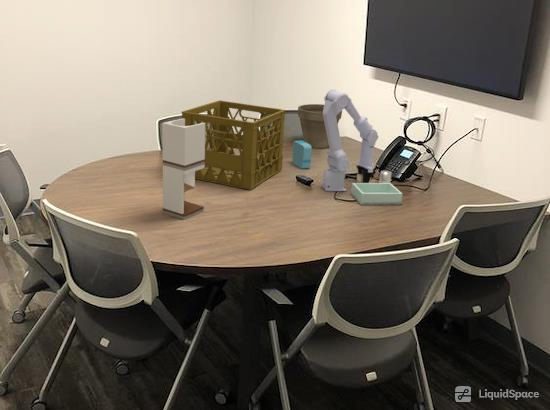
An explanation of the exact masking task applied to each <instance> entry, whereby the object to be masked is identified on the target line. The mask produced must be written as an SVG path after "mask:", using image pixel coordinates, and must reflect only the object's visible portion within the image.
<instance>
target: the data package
mask: <svg viewBox="0 0 550 410" xmlns="http://www.w3.org/2000/svg"><path fill="white" fill-rule="evenodd" d="M312 150H313V148H312V147H311V145H310V144H308V143H306V142H304V140H294V141H293V145H292V155H291V156H292V158H291V161H292V164H294V166H296V167H298V168H299V169H301V170H302V169H303V170H305V169H306V170H307V169H310V168H311V161H312Z"/></svg>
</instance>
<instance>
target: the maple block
mask: <svg viewBox="0 0 550 410" xmlns="http://www.w3.org/2000/svg"><path fill="white" fill-rule="evenodd" d="M355 183H363V175H362V174H358V173H357V174H356V182H355ZM369 183H372V177H371V178H370V180H369Z"/></svg>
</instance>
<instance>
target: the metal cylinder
mask: <svg viewBox="0 0 550 410" xmlns="http://www.w3.org/2000/svg"><path fill="white" fill-rule="evenodd" d="M391 179H392V171H390V170H384V169H383V170H381V171H380V174H379V180H378V183H391Z"/></svg>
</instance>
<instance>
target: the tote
mask: <svg viewBox="0 0 550 410" xmlns="http://www.w3.org/2000/svg"><path fill="white" fill-rule="evenodd" d="M350 195H351V196H352V197H353V198H354V199H355V200H356V202H358V204H359V205H361V206H390V205H391V206H394V205H395V206H401V205H402V200H403V192H401V191H400V190H399V189H398V188H397V187H396V186H394V185H393V184H392V183H391V182H390V183H379V182H371V183H356V182H352V183H351V189H350Z"/></svg>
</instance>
